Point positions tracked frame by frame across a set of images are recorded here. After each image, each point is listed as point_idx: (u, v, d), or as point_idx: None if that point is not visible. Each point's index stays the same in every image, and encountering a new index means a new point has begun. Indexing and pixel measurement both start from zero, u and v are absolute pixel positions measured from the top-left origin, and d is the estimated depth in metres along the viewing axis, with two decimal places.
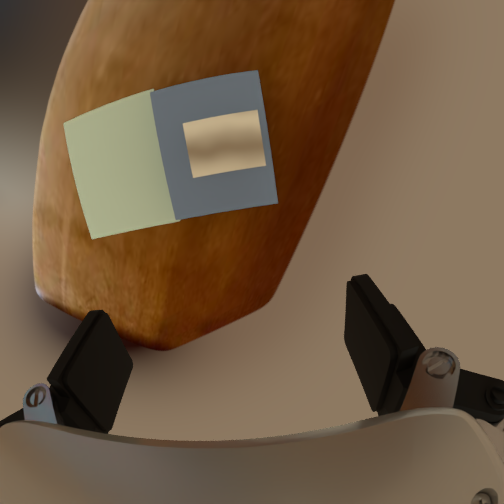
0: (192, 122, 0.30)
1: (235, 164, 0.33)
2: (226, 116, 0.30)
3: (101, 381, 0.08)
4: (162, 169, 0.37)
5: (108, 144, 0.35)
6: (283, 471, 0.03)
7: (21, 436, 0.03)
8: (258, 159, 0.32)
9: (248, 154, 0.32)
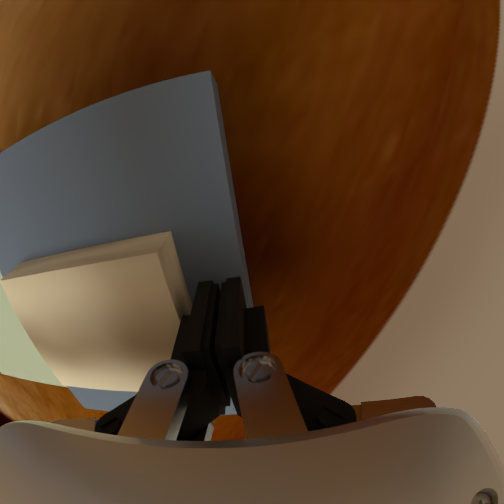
0: (13, 281, 0.09)
1: (131, 382, 0.11)
2: (72, 273, 0.09)
3: None
4: None
5: None
6: (283, 471, 0.03)
7: (21, 436, 0.03)
8: None
9: None
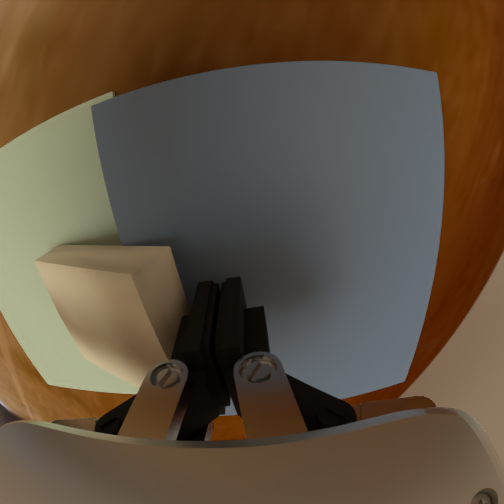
0: (42, 264, 0.11)
1: (132, 378, 0.12)
2: (76, 272, 0.09)
3: None
4: None
5: (26, 238, 0.13)
6: (282, 471, 0.03)
7: (21, 436, 0.03)
8: None
9: None
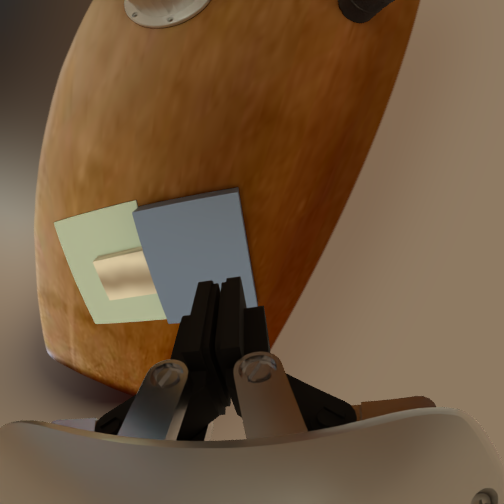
0: (98, 261, 0.37)
1: (135, 292, 0.40)
2: (120, 257, 0.37)
3: None
4: None
5: (99, 249, 0.39)
6: (283, 471, 0.03)
7: (21, 436, 0.03)
8: (151, 288, 0.39)
9: (143, 285, 0.39)
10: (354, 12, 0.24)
